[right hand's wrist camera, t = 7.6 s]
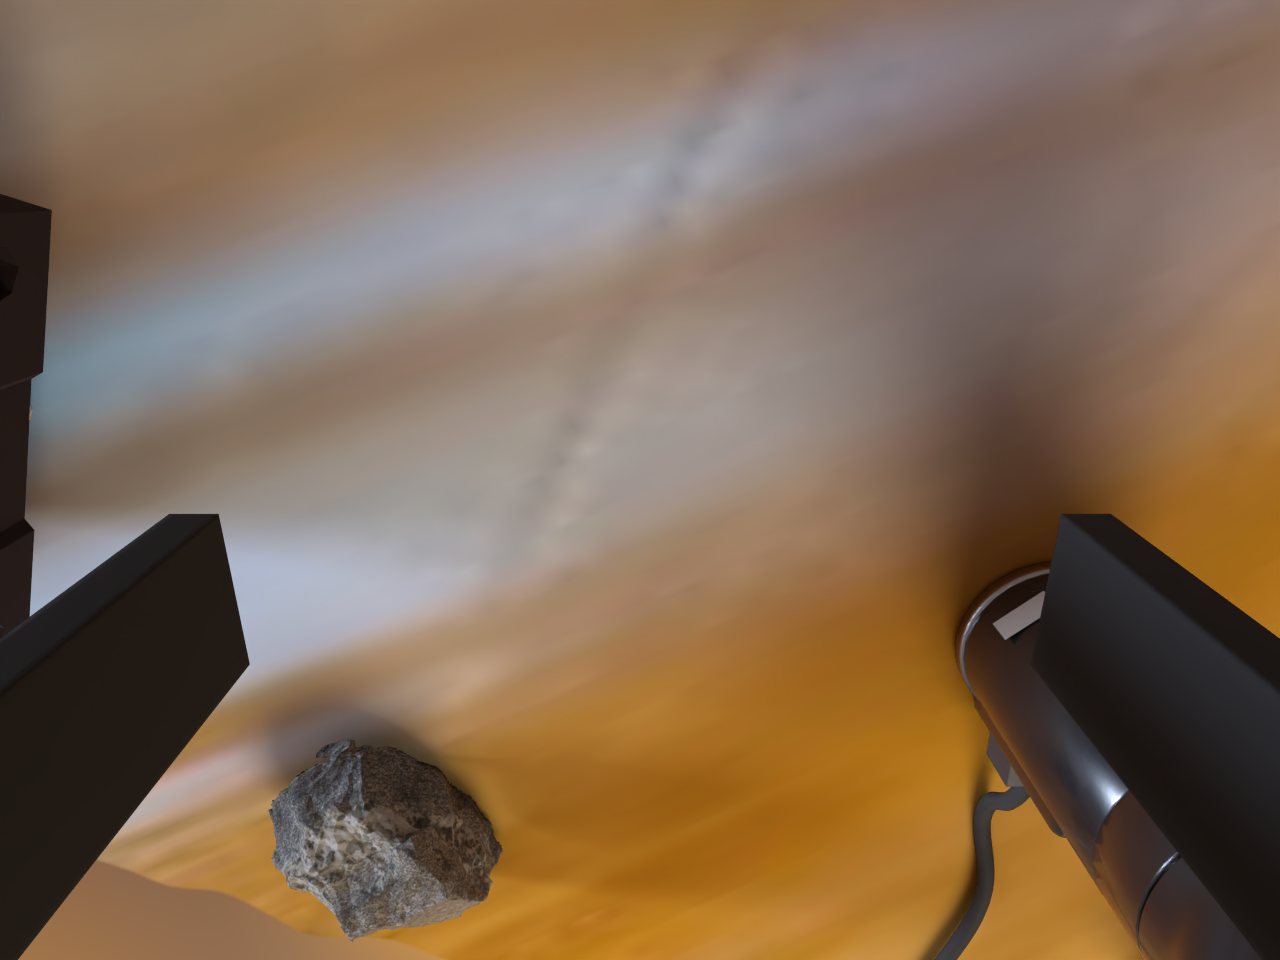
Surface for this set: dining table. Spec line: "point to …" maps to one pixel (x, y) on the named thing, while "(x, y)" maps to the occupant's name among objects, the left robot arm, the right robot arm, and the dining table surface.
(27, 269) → the mechanical component
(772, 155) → the dining table surface
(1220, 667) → the right robot arm
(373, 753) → the rock
